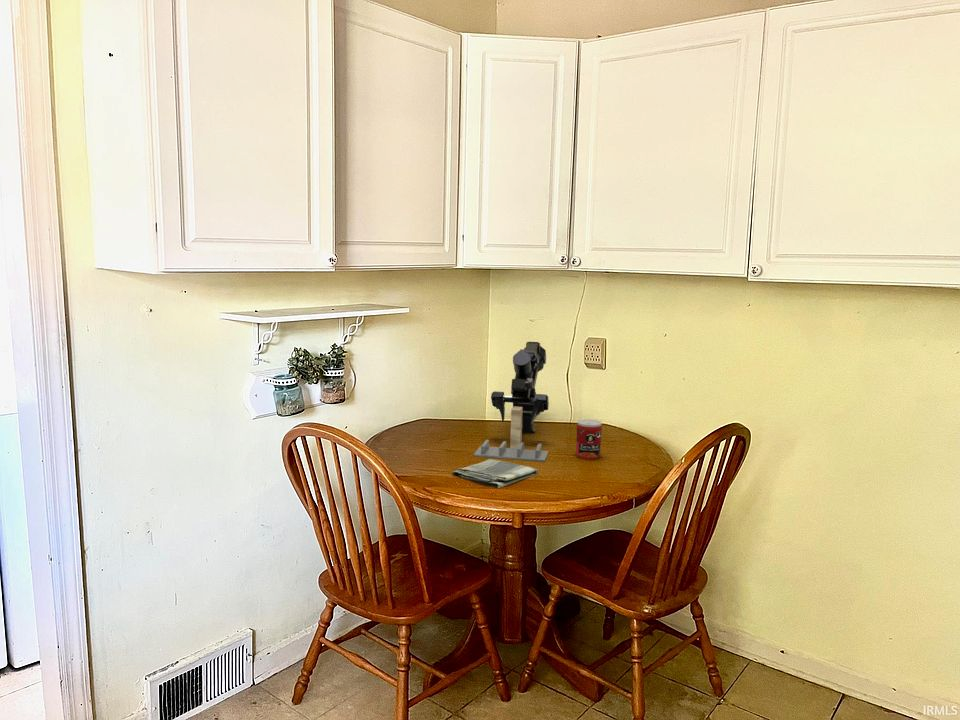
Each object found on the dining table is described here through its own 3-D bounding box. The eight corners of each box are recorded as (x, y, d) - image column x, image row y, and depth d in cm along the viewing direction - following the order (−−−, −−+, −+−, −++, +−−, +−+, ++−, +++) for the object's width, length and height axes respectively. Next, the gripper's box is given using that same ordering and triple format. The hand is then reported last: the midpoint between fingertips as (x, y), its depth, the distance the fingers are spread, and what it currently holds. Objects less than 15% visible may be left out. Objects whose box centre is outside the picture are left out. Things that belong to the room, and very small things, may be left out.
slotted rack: (480, 447, 234) (480, 438, 234) (548, 453, 230) (548, 443, 229) (473, 456, 224) (474, 446, 224) (544, 462, 220) (545, 452, 220)
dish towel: (490, 463, 220) (490, 453, 219) (538, 476, 208) (539, 465, 208) (449, 477, 205) (449, 466, 205) (499, 491, 194) (499, 480, 194)
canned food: (576, 459, 224) (578, 424, 222) (574, 452, 232) (576, 418, 230) (601, 460, 224) (603, 425, 222) (598, 452, 232) (600, 419, 230)
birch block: (512, 445, 238) (513, 406, 236) (521, 445, 238) (522, 406, 236) (510, 448, 234) (511, 409, 232) (519, 449, 233) (520, 409, 231)
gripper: (492, 367, 240) (485, 406, 230) (549, 370, 236) (544, 410, 227) (496, 386, 248) (489, 425, 239) (550, 389, 245) (545, 429, 236)
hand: (516, 422), depth 235 cm, fingers open, 9 cm apart
